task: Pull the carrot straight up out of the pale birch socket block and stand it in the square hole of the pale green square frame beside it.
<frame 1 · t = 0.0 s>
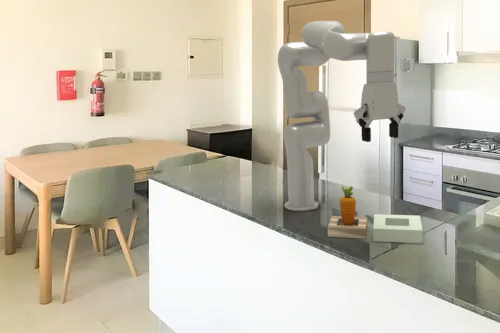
hand: (380, 139, 145), 31 cm above the countertop, tool pointing down, fingers open, 9 cm apart
socket block: (348, 231, 163), on the countertop
carrot: (348, 231, 163), resting in socket block
pale green square frame: (397, 234, 158), on the countertop
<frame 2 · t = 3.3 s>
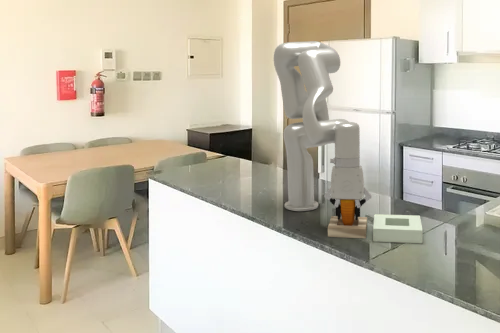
hand: (347, 218, 162), 4 cm above the countertop, tool pointing down, fingers closed on carrot, 4 cm apart
carrot: (348, 231, 163), resting in socket block, touching gripper
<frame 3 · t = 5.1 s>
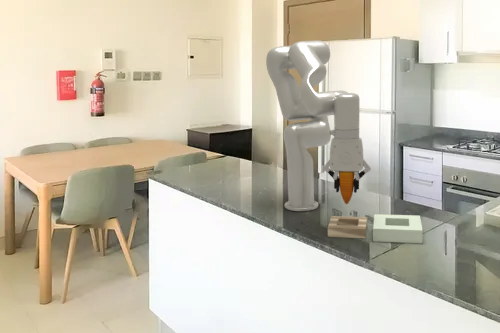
hand: (346, 190, 161), 13 cm above the countertop, tool pointing down, fingers closed on carrot, 4 cm apart
carrot: (346, 204, 162), point 9 cm above the countertop, touching gripper
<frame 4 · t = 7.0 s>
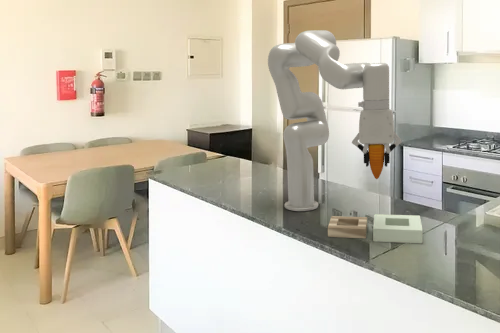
hand: (376, 165, 156), 22 cm above the countertop, tool pointing down, fingers closed on carrot, 4 cm apart
carrot: (376, 179, 157), point 17 cm above the countertop, touching gripper
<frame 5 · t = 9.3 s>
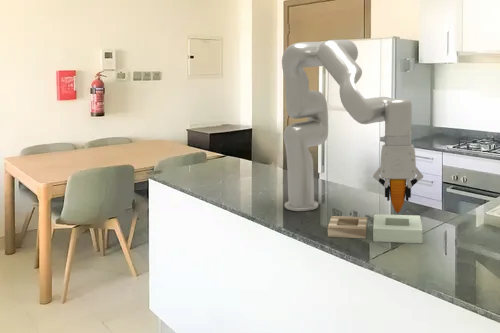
hand: (397, 199, 156), 11 cm above the countertop, tool pointing down, fingers closed on carrot, 4 cm apart
carrot: (397, 213, 157), point 7 cm above the countertop, touching gripper
when the fingers open (6 cm above the countertop, at t = 10.8 s): carrot drops 1 cm, resting in pale green square frame.
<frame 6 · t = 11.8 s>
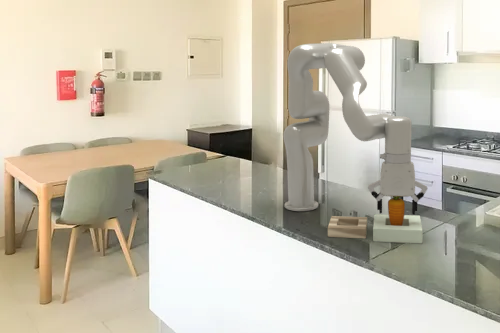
hand: (396, 212, 157), 7 cm above the countertop, tool pointing down, fingers open, 9 cm apart
carrot: (396, 234, 159), resting in pale green square frame
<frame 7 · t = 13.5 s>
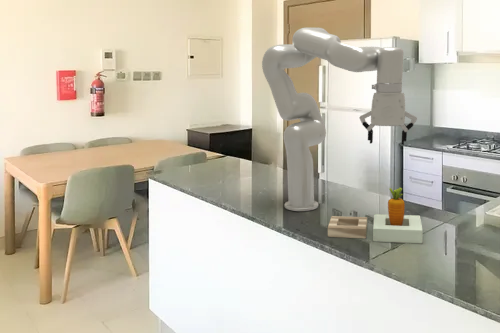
hand: (386, 143, 161), 27 cm above the countertop, tool pointing down, fingers open, 9 cm apart
nothing on the countertop moved.
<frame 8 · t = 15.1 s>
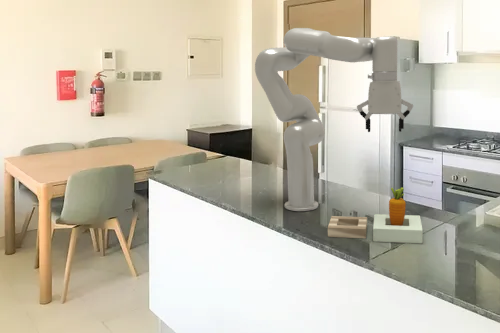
hand: (384, 131, 164), 30 cm above the countertop, tool pointing down, fingers open, 9 cm apart
nothing on the countertop moved.
at the end: carrot 0.2 cm off-centre on the pale green square frame, point 0.0 cm above the pale green square frame's base; carrot tilted 1°; the gripper is holding nothing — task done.
